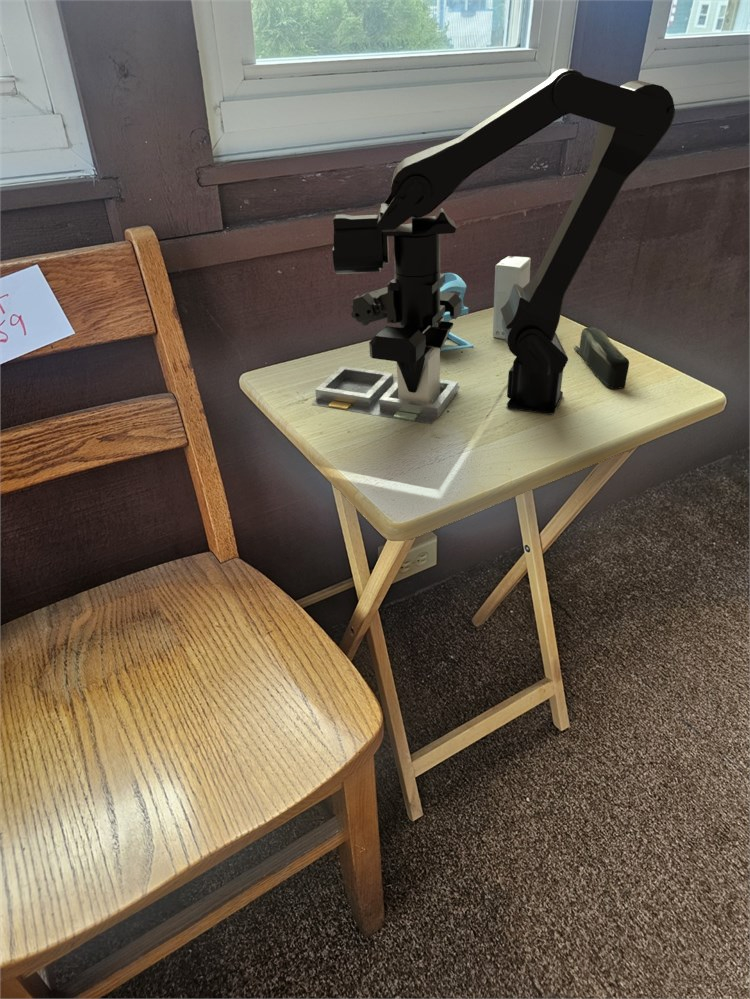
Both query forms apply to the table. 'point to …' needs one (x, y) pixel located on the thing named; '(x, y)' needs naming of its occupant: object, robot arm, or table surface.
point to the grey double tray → (379, 395)
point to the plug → (423, 381)
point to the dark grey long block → (603, 358)
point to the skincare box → (508, 286)
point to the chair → (458, 284)
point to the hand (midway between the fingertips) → (419, 383)
